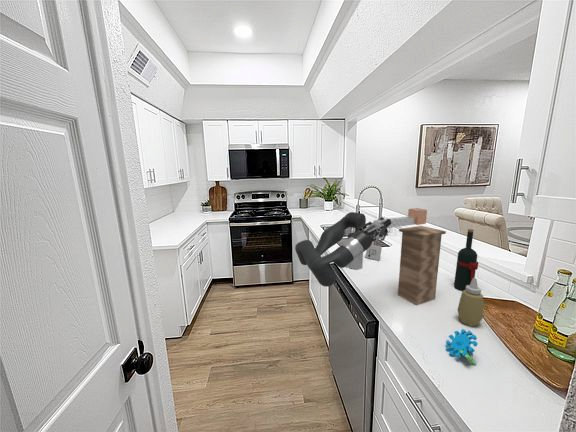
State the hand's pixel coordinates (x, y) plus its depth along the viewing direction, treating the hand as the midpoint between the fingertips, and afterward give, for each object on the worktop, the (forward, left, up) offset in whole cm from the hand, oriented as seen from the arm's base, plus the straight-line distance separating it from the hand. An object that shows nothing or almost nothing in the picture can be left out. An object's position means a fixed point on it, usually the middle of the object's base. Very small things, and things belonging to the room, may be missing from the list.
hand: (386, 219), depth 100 cm
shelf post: (+15, +15, -39) cm, 44 cm away
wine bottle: (+38, +31, -39) cm, 62 cm away
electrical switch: (-6, +61, -39) cm, 73 cm away
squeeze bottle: (+32, +1, -39) cm, 50 cm away
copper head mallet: (+5, +5, -3) cm, 7 cm away
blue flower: (+24, -20, -39) cm, 50 cm away
